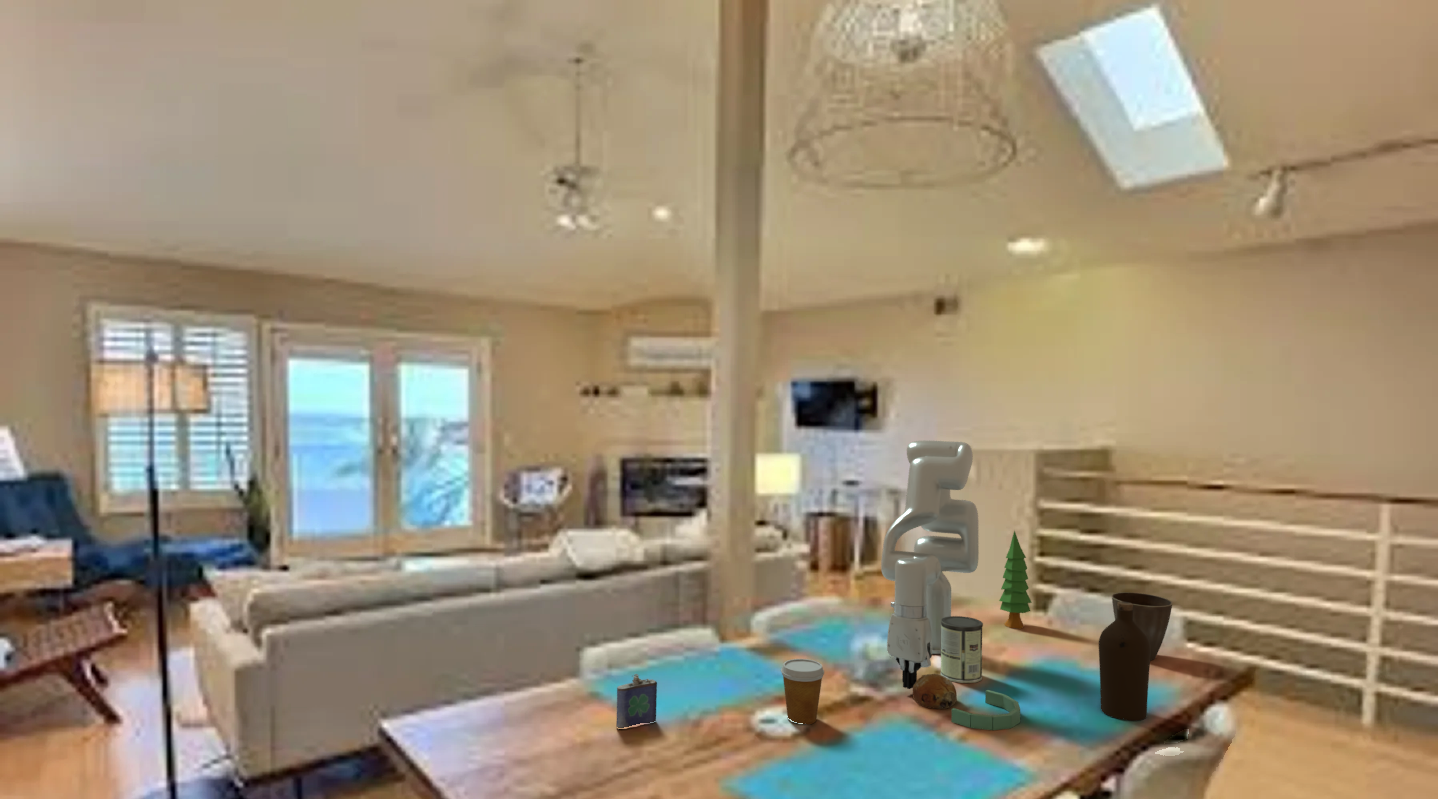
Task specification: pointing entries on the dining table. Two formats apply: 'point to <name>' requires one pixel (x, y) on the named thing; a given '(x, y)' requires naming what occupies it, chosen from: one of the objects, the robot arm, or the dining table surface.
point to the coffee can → (961, 649)
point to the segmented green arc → (990, 720)
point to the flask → (636, 702)
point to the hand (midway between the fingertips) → (909, 686)
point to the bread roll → (934, 691)
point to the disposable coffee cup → (802, 689)
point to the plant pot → (1147, 615)
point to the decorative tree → (1015, 585)
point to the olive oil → (1124, 667)
